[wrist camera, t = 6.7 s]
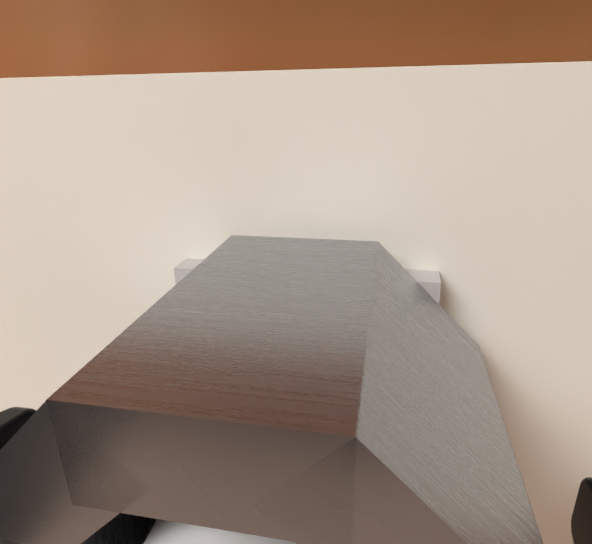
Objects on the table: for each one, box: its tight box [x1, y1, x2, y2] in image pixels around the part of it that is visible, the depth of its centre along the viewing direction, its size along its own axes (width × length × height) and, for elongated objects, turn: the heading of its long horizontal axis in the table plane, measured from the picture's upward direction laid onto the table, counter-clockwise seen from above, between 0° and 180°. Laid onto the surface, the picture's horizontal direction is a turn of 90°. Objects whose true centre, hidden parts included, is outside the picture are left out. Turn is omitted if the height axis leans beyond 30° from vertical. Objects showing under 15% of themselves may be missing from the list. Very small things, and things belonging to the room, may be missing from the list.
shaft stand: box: [0, 61, 592, 544], centre depth 8 cm, size 18×12×7 cm, turn 91°
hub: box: [0, 235, 543, 544], centre depth 7 cm, size 6×6×5 cm
